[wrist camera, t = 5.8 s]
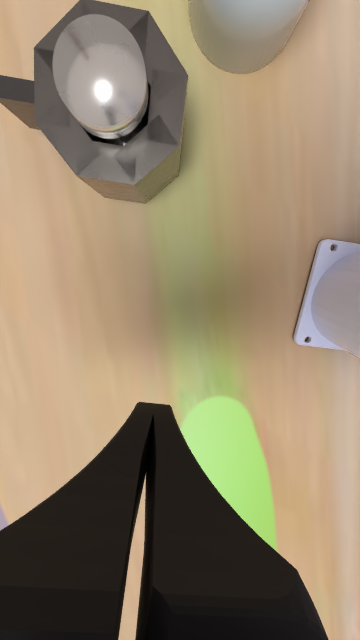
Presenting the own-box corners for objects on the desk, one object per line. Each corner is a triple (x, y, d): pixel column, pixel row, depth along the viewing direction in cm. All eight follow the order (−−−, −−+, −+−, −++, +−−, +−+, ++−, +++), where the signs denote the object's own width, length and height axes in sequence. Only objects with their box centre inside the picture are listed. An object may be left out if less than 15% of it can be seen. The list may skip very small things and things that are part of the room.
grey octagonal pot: (188, 92, 16) (194, 19, 11) (174, 207, 18) (174, 191, 13) (41, 66, 16) (-22, -23, 11) (42, 187, 17) (-12, 162, 12)
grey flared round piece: (159, 111, 16) (150, 23, 10) (152, 176, 17) (141, 133, 11) (100, 101, 16) (52, 5, 9) (97, 167, 16) (52, 118, 10)
